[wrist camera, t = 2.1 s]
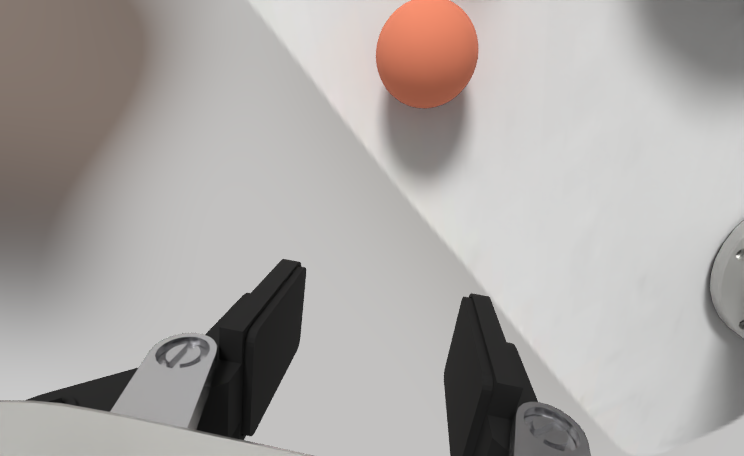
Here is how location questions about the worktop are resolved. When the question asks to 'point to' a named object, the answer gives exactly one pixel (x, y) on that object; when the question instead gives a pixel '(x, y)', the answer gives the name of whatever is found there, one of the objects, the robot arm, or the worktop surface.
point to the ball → (427, 52)
